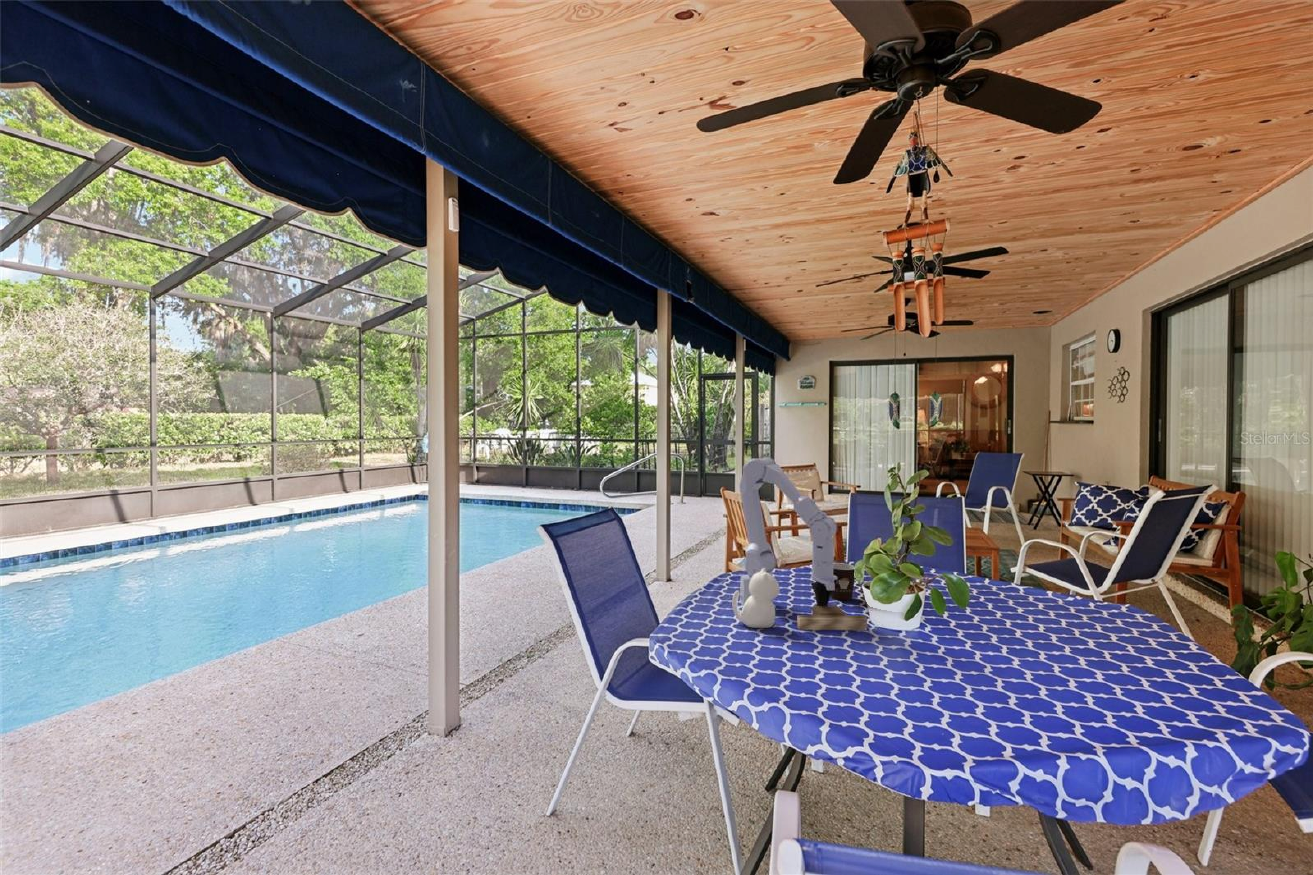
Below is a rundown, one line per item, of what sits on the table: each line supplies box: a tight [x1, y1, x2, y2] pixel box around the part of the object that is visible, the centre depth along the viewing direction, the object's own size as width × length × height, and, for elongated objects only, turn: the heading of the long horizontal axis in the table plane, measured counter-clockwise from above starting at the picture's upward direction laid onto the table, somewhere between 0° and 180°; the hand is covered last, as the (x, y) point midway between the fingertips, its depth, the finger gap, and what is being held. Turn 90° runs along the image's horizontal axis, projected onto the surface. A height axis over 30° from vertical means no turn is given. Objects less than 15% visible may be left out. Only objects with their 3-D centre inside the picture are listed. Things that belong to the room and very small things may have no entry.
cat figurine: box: [731, 568, 781, 629], centre depth 158 cm, size 9×12×15 cm
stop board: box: [796, 614, 868, 631], centre depth 156 cm, size 18×2×3 cm, turn 92°
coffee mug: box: [830, 562, 856, 602], centre depth 185 cm, size 12×9×10 cm
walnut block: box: [811, 605, 846, 616], centre depth 160 cm, size 7×6×4 cm
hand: (822, 609), depth 165 cm, fingers closed
